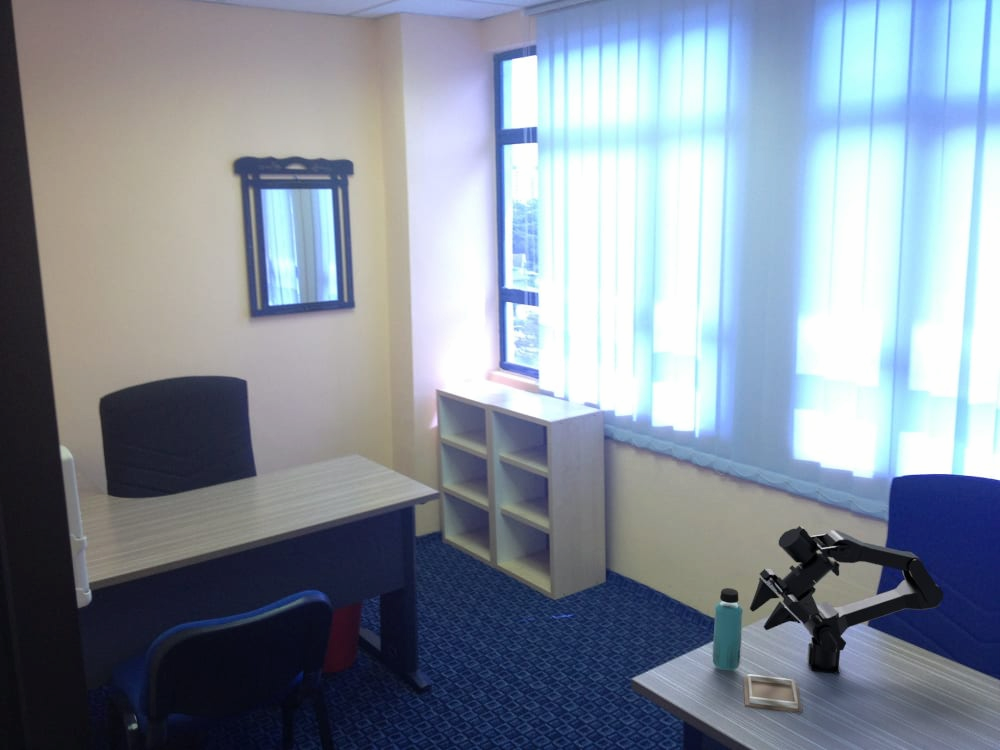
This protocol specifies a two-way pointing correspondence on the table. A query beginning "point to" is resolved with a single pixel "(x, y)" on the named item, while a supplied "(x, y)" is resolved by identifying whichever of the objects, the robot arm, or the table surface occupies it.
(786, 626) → the table surface
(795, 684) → the tray
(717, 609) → the beverage bottle
